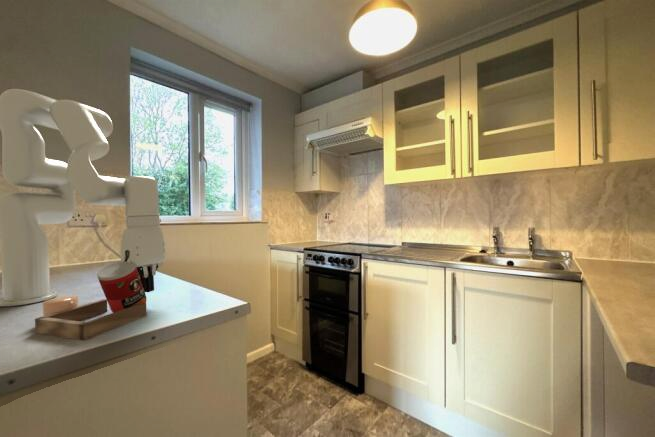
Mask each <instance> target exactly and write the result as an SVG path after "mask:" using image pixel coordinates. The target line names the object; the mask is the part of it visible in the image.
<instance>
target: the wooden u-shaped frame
mask: <svg viewBox="0 0 655 437" xmlns="http://www.w3.org/2000/svg"><path fill="white" fill-rule="evenodd" d="M105 312H108V302H107V299H106V298H105V299H104V298H103V299H99V300H96V301H93V302H89V303H88V302H87V303H85V304H82V305H78V307H74V308H71V309H67V310H64V311H60V312H57V313H53V314H50V315H46V316H40V317H36V318H34V323H35V324H34V326H35V330H34V331H35V334H41V335H45V336H46V335H48V336H54V337H61V338H68V339H74V340H79V341H80V340H81V341H85V340H88V339H90V338H93V337H96V336H98V335H101V334H103V333H105V332H108V331H110V330H113V329H115V328H116V329H117V328H119V327H121V326H123V325H125V324H128V323H131V322H133V321H136V320H139V319H141V318H144V317H146V316H147V315H148V314H147V302H146V303H140V304H137V305H135V306H132V307H129V308H126V309H123V310H120V311H117V312H114V313H113V312H111V313H109V314H106V315H102V316H99V317H97V318H94V319H91V320H89V321H81V320H85V319H87V318H90V317H91V318H92V317H94V316H97V315H100V314H103V313H105Z"/></svg>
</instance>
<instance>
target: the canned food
mask: <svg viewBox="0 0 655 437" xmlns="http://www.w3.org/2000/svg"><path fill="white" fill-rule="evenodd" d="M96 275H97V280H98V282H99V285H100V288H101V289H102V292H103V294H104V296H105V299H107V305H108V306H109V309H110V311H111V313H114V312H117V311H120V310H123V309H126V308H129V307H132V306H135V305H137V304H140V303H146V304H147V295H146V292H144V289H143V286H142V283H141V279H140V276H139V273H138V270H137V268H136V265H135V263H133V262H127V261H125V262H121V261H119V262H118V261H117V262H115V263H112V264H108V265H106V266H104V267H103V268H101V269H99V271H98V272H97V274H96Z"/></svg>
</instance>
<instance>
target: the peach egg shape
mask: <svg viewBox="0 0 655 437" xmlns="http://www.w3.org/2000/svg"><path fill="white" fill-rule="evenodd" d="M78 306H79V297H78V295H65V296H59V297H53V298H51V299H48V300H44V301H42V314H43V316H46V315H50V314H53V313H57V312H60V311H64V310H67V309H71V308H74V307H78ZM43 316H42V317H43Z"/></svg>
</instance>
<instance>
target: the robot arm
mask: <svg viewBox="0 0 655 437" xmlns="http://www.w3.org/2000/svg"><path fill="white" fill-rule="evenodd" d="M35 125H37V126H38V125H39V126H42V127H46V128H49V129H53V130H57V131H59V133H60V134H61V136H62V138H63V140H64V141H65V142H66V145H67V146H68V148H69V150H70V151H71V153H70V155H69V157H68V158H67V163H66V162H64V161H61V160H59V159H58V160H57V159H52V158H47V157H46V143H45V140H44V138H43V136H42V135H41V133H40V131H39V130H38V129H37V128H36V127H35ZM113 128H114V124H113V121H112V120H111V118H110V116H109V115H108V114H107V113H106V112H104V111H102V110H100V109H99V108H98V109H97V108H95V107H92V106H89V105H87V104H84V103H82V102H78V101H75V100H71V99H58V100H57V99H55V98H52V97H49V96H46V95H44V94H40V93H37V92H35V91H31V90H26V89H23V88H22V89H21V88H10V89H6V90H5V91H4V92H2V93H1V94H0V132H1V133H0V134H1V140H2V152H1V153H2V154H1V155H2V156H1V157H2V158H1V159H2V166H1V167H2V177H3V179H4V181H5V183H7V184H8V185H10V186H14V187H17V188H25V189H38V190H39V189H41V190H45V191H46V192H45V193H43V192H42V193H41V192H30V191H29V192H27V191H26V192H25V191H24V192H23V191H13V192H7V193H4V194H1V195H0V255H1V256H0V258H1V283H2V288H0V292H1V293H2V297H0V307H16V306H23V305H29V304H34V303H40V302H44V301H46V300H49V299H53V298H56V297H57V296H58V292H57V291H56V290H51V287H50V286H51V284H50V255H49V254H50V253H49V252H50V251H49V238H48V236H47V234H46V232H45V231H44V230H43V228H42V227H41V226H40V225H55V224H57V225H59V224H64V223H68V222H69V221H71V220H72V218H73V216H74V214H75V207H76V193H77V195H78V196H79V197H80V198H81V199H82V201H84V202H86V203H87V204H90V205H94V206H114V207H117V206H118V207H119V206H120V207H125V223H126V224H125V225H126V226H125V227H126V229H123V231H122V236H121V242H120V262H125V261H127V262H133V263H135V265H136V268H137V270H138V273H139V276H140V279H141V283H142V286H143V289H144V292H145V293H150V292H153V291H155V278H154V276H156V273H157V271H158V269H159V268H161V267H162V266H164V261H165V260H166V246H165V238H164V234H163V229H162V227H161V225H160V224H161V222H162V220H161V218H160V207H159V206H160V204H159V185H158V181H157V179H156V178H154V177H153V176H152V177H151V176H144V175H136V176H135V175H134V176H133V175H132V176H128V177H126V178H120V177H119V178H118V177H113V176H106V175H100V174H99V173H98V172H97V170H96V168H95V167H94V166H93V164H92V161H96V160H98V159H101V158H102V157H104V156H106V155H107V154H108V152H109V151H110V144H109V142H108V141H107V138H109V137H110V135H111V134H113Z"/></svg>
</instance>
